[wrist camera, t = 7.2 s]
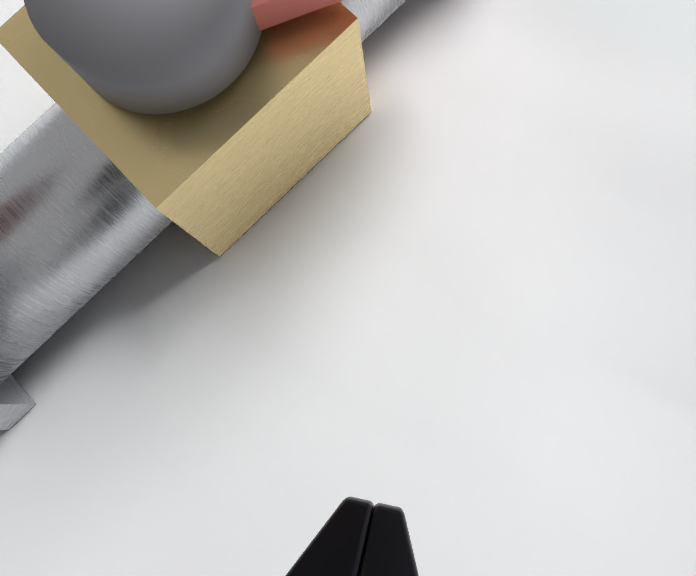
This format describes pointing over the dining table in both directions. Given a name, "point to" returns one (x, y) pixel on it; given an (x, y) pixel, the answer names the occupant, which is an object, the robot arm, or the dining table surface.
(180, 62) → the lever
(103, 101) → the valve body
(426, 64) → the dining table surface
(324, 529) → the robot arm
